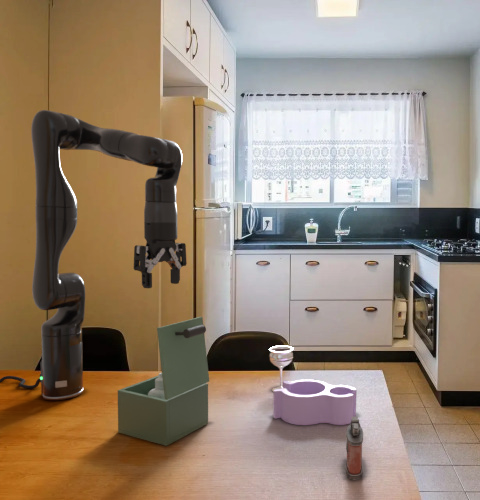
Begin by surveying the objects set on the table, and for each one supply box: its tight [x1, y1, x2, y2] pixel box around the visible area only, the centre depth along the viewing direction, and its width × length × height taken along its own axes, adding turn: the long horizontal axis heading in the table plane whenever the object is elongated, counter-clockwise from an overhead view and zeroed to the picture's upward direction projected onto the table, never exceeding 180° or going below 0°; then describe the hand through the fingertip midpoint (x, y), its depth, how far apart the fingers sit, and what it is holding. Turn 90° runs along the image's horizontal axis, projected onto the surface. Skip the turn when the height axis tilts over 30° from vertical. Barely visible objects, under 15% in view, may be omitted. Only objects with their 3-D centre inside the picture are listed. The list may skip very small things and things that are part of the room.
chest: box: [117, 374, 209, 447], centre depth 114 cm, size 15×13×10 cm
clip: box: [272, 379, 357, 426], centre depth 124 cm, size 20×12×7 cm, turn 80°
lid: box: [156, 316, 210, 400], centre depth 110 cm, size 16×13×5 cm
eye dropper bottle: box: [148, 372, 165, 399], centre depth 115 cm, size 4×6×12 cm
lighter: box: [345, 416, 364, 481], centre depth 98 cm, size 8×3×10 cm, turn 5°
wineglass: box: [268, 345, 294, 392], centre depth 141 cm, size 7×7×12 cm
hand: (161, 285), depth 122 cm, fingers open, 8 cm apart
